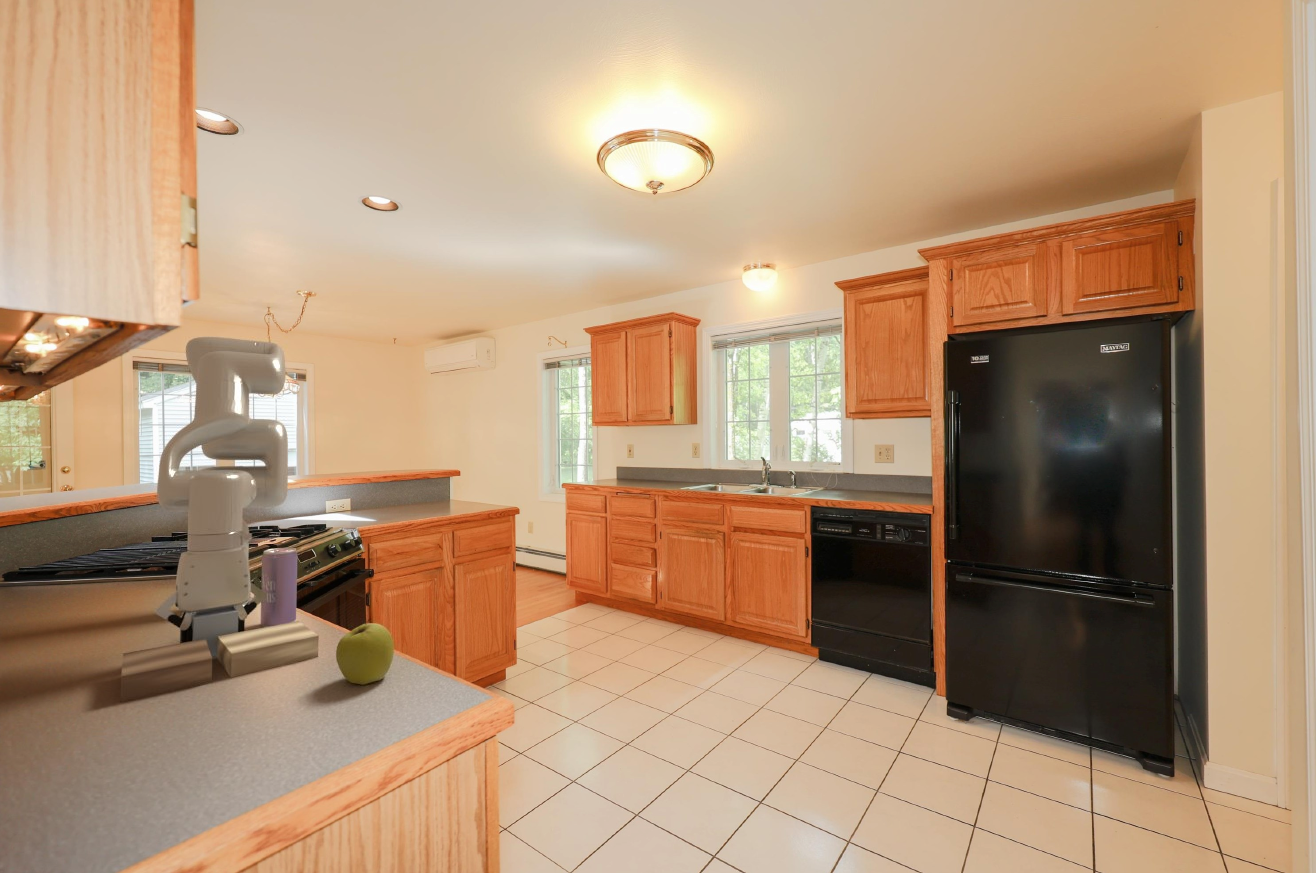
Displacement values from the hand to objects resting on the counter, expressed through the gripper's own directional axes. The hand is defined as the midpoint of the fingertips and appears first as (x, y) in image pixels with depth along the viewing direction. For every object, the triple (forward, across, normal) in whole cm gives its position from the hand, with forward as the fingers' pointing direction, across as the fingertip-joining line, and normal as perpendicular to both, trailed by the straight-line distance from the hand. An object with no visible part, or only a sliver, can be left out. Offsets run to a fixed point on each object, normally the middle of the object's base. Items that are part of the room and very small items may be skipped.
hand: (212, 645), depth 98 cm
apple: (+1, -14, +32) cm, 35 cm away
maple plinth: (+2, -6, +10) cm, 12 cm away
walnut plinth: (+2, +7, +10) cm, 12 cm away
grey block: (+1, 0, 0) cm, 1 cm away
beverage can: (+1, -12, -10) cm, 16 cm away
